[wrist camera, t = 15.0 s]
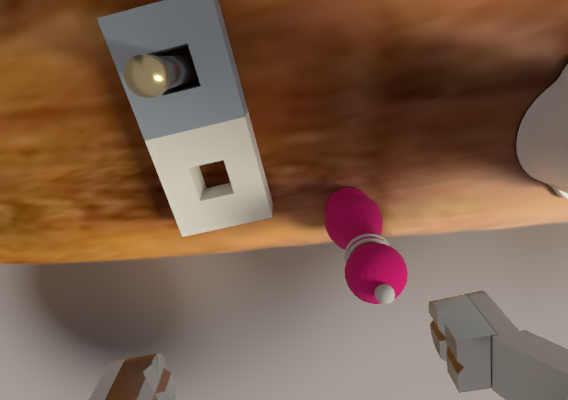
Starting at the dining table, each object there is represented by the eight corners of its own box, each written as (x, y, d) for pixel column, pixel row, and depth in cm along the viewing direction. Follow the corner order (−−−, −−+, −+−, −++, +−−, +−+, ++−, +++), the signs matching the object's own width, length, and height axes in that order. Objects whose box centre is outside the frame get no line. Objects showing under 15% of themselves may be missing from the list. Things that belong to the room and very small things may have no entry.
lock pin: (195, 50, 42) (156, 50, 29) (204, 79, 43) (171, 92, 30) (167, 57, 42) (117, 60, 29) (177, 86, 43) (133, 102, 30)
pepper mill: (332, 237, 52) (361, 341, 33) (313, 195, 49) (334, 283, 31) (379, 219, 51) (437, 316, 32) (363, 175, 48) (416, 253, 29)
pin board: (217, -6, 39) (209, -13, 35) (272, 203, 49) (272, 217, 45) (115, 21, 40) (96, 18, 36) (190, 221, 50) (182, 236, 46)
